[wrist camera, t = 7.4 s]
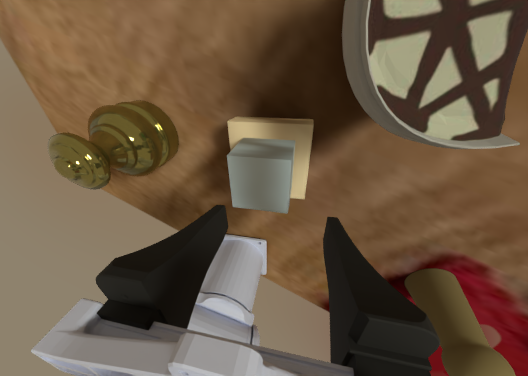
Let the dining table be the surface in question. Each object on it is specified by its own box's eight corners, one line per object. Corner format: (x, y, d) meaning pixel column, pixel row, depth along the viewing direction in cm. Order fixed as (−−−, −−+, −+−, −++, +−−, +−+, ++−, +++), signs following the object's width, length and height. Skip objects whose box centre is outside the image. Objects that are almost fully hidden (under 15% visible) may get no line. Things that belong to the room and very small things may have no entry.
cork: (396, 288, 29) (435, 391, 20) (419, 263, 26) (478, 373, 17) (439, 299, 28) (499, 410, 19) (468, 275, 25) (558, 395, 16)
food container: (314, -40, 14) (320, -207, 5) (419, -100, 11) (706, -532, 3) (340, 131, 19) (364, 182, 11) (415, 111, 17) (516, 156, 9)
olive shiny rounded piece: (188, 160, 24) (125, 210, 16) (138, 161, 26) (58, 206, 18) (167, 96, 21) (71, 116, 12) (111, 102, 22) (-8, 123, 14)
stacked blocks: (241, 180, 22) (219, 217, 17) (236, 115, 18) (205, 135, 13) (304, 186, 21) (303, 228, 15) (313, 118, 17) (314, 141, 12)
